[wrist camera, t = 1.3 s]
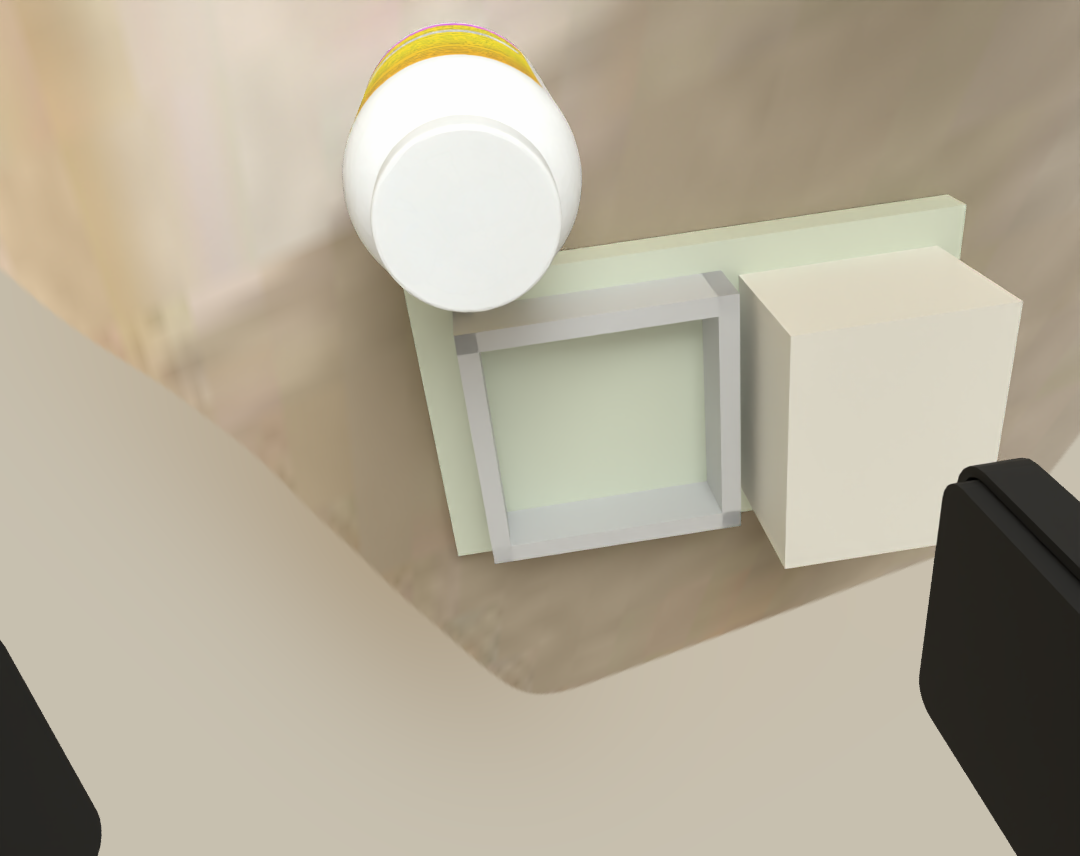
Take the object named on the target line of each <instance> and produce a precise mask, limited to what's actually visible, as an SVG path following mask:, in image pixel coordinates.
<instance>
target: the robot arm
mask: <svg viewBox="0 0 1080 856" xmlns="http://www.w3.org/2000/svg"><path fill="white" fill-rule="evenodd" d="M919 685H920V692H921V696H922V700H923V703H924V705H925V708H926V710H927V712H928V714H929V716H930V717H931V719H932V721H933V722H934V724H935V725H936V727H937V729H938V730H939V732H940V733H941V735H942V737H943V738H944V740H945V741H946V743H947V744H948V746H949V748H950V749H951V751H952V752H953V754H954V756H955V757H956V759H957V760H958V762H959V764H960V765H961V767H962V768H963V770H964V772H965V773H966V775H967V776H968V778H969V779H970V781H971V783H972V784H973V786H974V788H975V789H976V791H977V792H978V794H979V795H980V797H981V799H982V800H983V802H984V803H985V805H986V807H987V808H988V810H989V812H990V813H991V815H992V816H993V818H994V819H995V821H996V823H997V824H998V826H999V827H1000V829H1001V831H1002V832H1003V834H1004V835H1005V837H1006V839H1007V840H1008V842H1009V843H1010V845H1011V847H1012V848H1013V850H1014V851H1015V853H1016V855H1017V856H1080V502H1079V501H1078V500H1077V499H1076V498H1075V497H1074V496H1073V495H1072V494H1070V493H1069V492H1068V491H1067V490H1066V489H1065V488H1064V487H1062V486H1061V485H1060V484H1059V483H1058V482H1057V481H1056V480H1055V479H1054V478H1052V477H1051V476H1050V475H1049V474H1048V473H1047V472H1046V471H1045V470H1043V469H1042V468H1041V467H1040V466H1039V465H1038V464H1036V463H1035V462H1033V461H1032V460H1030V459H1026V458H1017V459H1011V460H1005V461H998V462H992V463H986V464H979V465H973V466H968V467H966V468H964V469H963V470H962V472H961V473H960V475H959V477H958V481H957V483H953V484H950V485H948V486H947V487H946V488H945V490H944V493H943V497H942V504H941V512H940V520H939V527H938V535H937V543H936V551H935V558H934V566H933V574H932V582H931V589H930V597H929V605H928V613H927V620H926V628H925V636H924V644H923V651H922V659H921V668H920V675H919ZM100 843H101V823H100V818H99V815H98V813H97V810H96V809H95V807H94V805H93V803H92V801H91V800H90V798H89V796H88V794H87V792H86V791H85V789H84V787H83V785H82V784H81V782H80V780H79V778H78V776H77V775H76V773H75V771H74V769H73V768H72V766H71V764H70V762H69V760H68V759H67V757H66V755H65V753H64V751H63V750H62V748H61V746H60V744H59V743H58V741H57V739H56V737H55V735H54V733H53V732H52V730H51V728H50V727H49V724H48V723H47V721H46V719H45V717H44V715H43V714H42V712H41V710H40V708H39V707H38V705H37V703H36V701H35V699H34V698H33V696H32V694H31V692H30V690H29V689H28V687H27V685H26V683H25V681H24V680H23V678H22V676H21V675H20V673H19V671H18V669H17V667H16V665H15V664H14V662H13V660H12V658H11V657H10V655H9V653H8V651H7V649H6V647H5V646H4V645H3V643H2V642H1V641H0V856H98V852H99V849H100Z"/></svg>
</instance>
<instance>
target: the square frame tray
mask: <svg viewBox="0 0 1080 856" xmlns="http://www.w3.org/2000/svg"><path fill="white" fill-rule="evenodd" d="M966 206H967V205H966V204H965V203H963V202H961V201H959V200H957V199H955V198H953V197H952V196H950V195H948V194H946V195H940V196H933V197H926V198H919V199H912V200H906V201H899V202H892V203H885V204H878V205H872V206H865V207H858V208H851V209H844V210H837V211H831V212H824V213H817V214H810V215H803V216H797V217H790V218H783V219H776V220H769V221H762V222H756V223H749V224H742V225H735V226H728V227H722V228H715V229H708V230H701V231H694V232H688V233H681V234H674V235H667V236H660V237H653V238H647V239H640V240H633V241H626V242H619V243H613V244H606V245H599V246H592V247H585V248H578V249H572V250H565V251H559V252H558V253H557V254H556V256H555V257H554V258H553V261H552V262H551V264H550V266H549V268H548V269H547V271H546V272H545V274H544V275H543V276H542V277H541V279H540V280H539V281H538V282H537V283H536V284H535V285H534V286H533V287H532V288H531V289H530V290H529V291H527V292H526V293H525V294H523V295H522V296H521V297H519V298H517V299H516V300H514V301H512V302H511V303H508V304H506V305H503V306H501V307H498V308H495V309H491V310H487V311H481V312H467V313H464V312H454V311H448V310H443V309H440V308H436V307H434V306H431V305H429V304H426V303H424V302H422V301H420V300H419V299H417V298H416V297H414V296H412V295H411V294H409V293H408V292H407V291H406V290H405V289H404V288H403V290H404V294H405V299H406V304H407V309H408V314H409V319H410V323H411V328H412V333H413V338H414V343H415V348H416V353H417V357H418V362H419V367H420V372H421V377H422V382H423V387H424V391H425V396H426V401H427V406H428V411H429V416H430V421H431V425H432V430H433V435H434V440H435V445H436V450H437V454H438V459H439V464H440V469H441V474H442V479H443V484H444V488H445V493H446V498H447V503H448V508H449V513H450V518H451V522H452V527H453V532H454V537H455V542H456V547H457V552H458V556H463V555H469V554H476V553H482V552H489V551H493V556H494V562H495V564H498V563H505V562H511V561H517V560H524V559H530V558H537V557H543V556H549V555H556V554H562V553H569V552H575V551H581V550H588V549H594V548H601V547H607V546H613V545H620V544H626V543H633V542H639V541H645V540H652V539H658V538H665V537H671V536H677V535H684V534H690V533H697V532H703V531H709V530H716V529H722V528H729V527H735V526H741V512H745V511H752V510H754V512H755V514H756V516H757V518H758V520H759V522H760V524H761V525H762V527H763V529H764V531H765V533H766V535H767V537H768V538H769V540H770V542H771V544H772V546H773V548H774V550H775V552H776V553H777V555H778V557H779V559H780V561H781V563H782V565H783V566H784V568H785V569H788V568H794V567H801V566H807V565H813V564H820V563H826V562H832V561H839V560H845V559H851V558H858V557H864V556H870V555H877V554H883V553H890V552H896V551H902V550H909V549H915V548H921V547H928V546H934V545H936V543H937V535H938V527H939V520H940V512H941V504H942V497H943V493H944V490H945V488H946V487H947V486H948V485H950V484H953V483H957V481H958V477H959V475H960V473H961V472H962V470H963V469H964V468H966V467H968V466H973V465H979V464H986V463H992V462H997V458H998V452H999V446H1000V440H1001V433H1002V427H1003V421H1004V415H1005V409H1006V403H1007V397H1008V391H1009V385H1010V379H1011V373H1012V367H1013V361H1014V355H1015V349H1016V343H1017V336H1018V330H1019V324H1020V318H1021V312H1022V306H1023V301H1022V300H1020V299H1019V298H1017V297H1016V296H1014V295H1013V294H1011V293H1010V292H1008V291H1007V290H1005V289H1004V288H1002V287H1000V286H999V285H997V284H996V283H994V282H993V281H991V280H990V279H988V278H987V277H985V276H984V275H982V274H980V273H979V272H977V271H976V270H974V269H973V268H971V267H970V266H968V265H967V264H965V263H964V262H962V261H960V254H961V246H962V238H963V230H964V222H965V214H966Z"/></svg>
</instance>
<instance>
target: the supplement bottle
mask: <svg viewBox="0 0 1080 856" xmlns="http://www.w3.org/2000/svg"><path fill="white" fill-rule="evenodd" d="M342 179H343V191H344V198H345V202H346V207H347V210H348V213H349V216H350V219H351V221H352V224H353V226H354V228H355V230H356V233H357V235H358V236H359V238H360V240H361V241H362V243H363V244H364V246H365V247H366V249H367V250H368V252H369V253H370V254H371V255H372V256H373V257H374V259H375V260H376V261H377V262H378V263H379V264H380V265H381V266H382V267H383V268H384V269H386V270H387V271H388V273H389V274H390V275H391V276H392V278H393V279H394V280H395V281H396V282H397V283H398V284H399V285H400V286H401V287H402V288H404V289H405V290H406V291H407V292H408V293H409V294H411V295H412V296H414V297H416V298H417V299H419V300H420V301H422V302H424V303H426V304H429V305H431V306H434V307H436V308H440V309H443V310H448V311H454V312H464V313H467V312H481V311H487V310H491V309H495V308H498V307H501V306H503V305H506V304H508V303H511V302H512V301H514V300H516V299H517V298H519V297H521V296H522V295H523V294H525V293H526V292H527V291H529V290H530V289H531V288H532V287H533V286H534V285H535V284H536V283H537V282H538V281H539V280H540V279H541V277H542V276H543V275H544V274H545V272H546V271H547V269H548V268H549V266H550V264H551V262H552V261H553V258H554V257H555V256H556V254H557V253H558V252H559V250H560V249H561V247H562V246H563V244H564V243H565V241H566V239H567V238H568V236H569V234H570V232H571V229H572V227H573V224H574V222H575V219H576V216H577V212H578V208H579V203H580V197H581V187H582V170H581V163H580V157H579V152H578V148H577V145H576V141H575V138H574V135H573V133H572V131H571V128H570V126H569V124H568V122H567V121H566V119H565V117H564V115H563V114H562V112H561V110H560V109H559V107H558V106H557V104H556V103H555V102H554V100H553V98H552V97H551V95H550V94H549V92H548V90H547V89H546V87H545V85H544V84H543V82H542V80H541V78H540V77H539V75H538V74H537V72H536V71H535V69H534V67H533V66H532V65H531V63H530V62H529V60H528V59H527V58H526V57H525V56H524V54H523V53H522V52H521V51H520V50H519V49H518V48H517V47H516V46H515V45H513V44H512V43H511V42H510V41H508V40H507V39H505V38H504V37H502V36H501V35H499V34H497V33H495V32H493V31H491V30H489V29H486V28H484V27H481V26H478V25H474V24H469V23H461V22H447V23H438V24H433V25H430V26H426V27H423V28H421V29H418V30H416V31H414V32H412V33H410V34H409V35H407V36H406V37H404V38H403V39H401V40H400V41H398V42H397V43H396V44H395V45H393V46H392V47H391V48H390V50H389V51H388V52H387V53H386V54H385V55H384V56H383V58H382V59H381V61H380V62H379V64H378V65H377V67H376V69H375V70H374V72H373V74H372V76H371V79H370V81H369V83H368V86H367V89H366V91H365V94H364V97H363V100H362V102H361V105H360V107H359V110H358V113H357V115H356V118H355V121H354V123H353V126H352V128H351V130H350V133H349V137H348V140H347V144H346V148H345V153H344V159H343V169H342Z"/></svg>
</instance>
